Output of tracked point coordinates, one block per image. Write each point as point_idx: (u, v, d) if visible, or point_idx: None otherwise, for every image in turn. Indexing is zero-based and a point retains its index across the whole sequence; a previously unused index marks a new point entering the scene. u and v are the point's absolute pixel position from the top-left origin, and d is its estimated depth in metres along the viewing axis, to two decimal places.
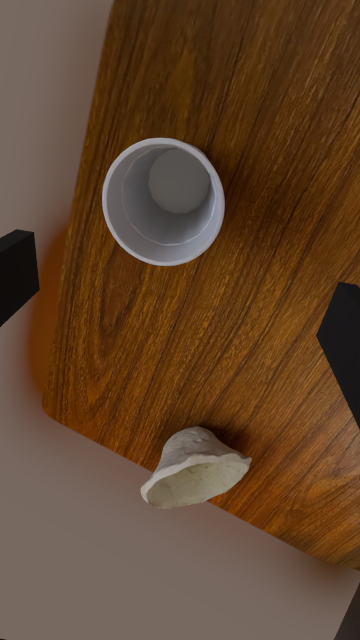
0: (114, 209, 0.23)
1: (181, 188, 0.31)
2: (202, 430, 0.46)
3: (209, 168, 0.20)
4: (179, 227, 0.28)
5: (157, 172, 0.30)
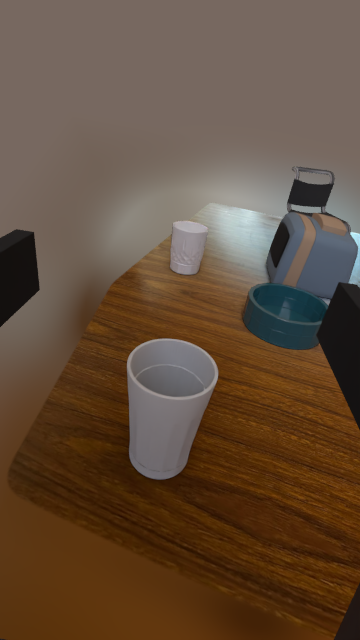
0: None
1: None
2: None
3: (147, 343, 0.31)
4: None
5: None
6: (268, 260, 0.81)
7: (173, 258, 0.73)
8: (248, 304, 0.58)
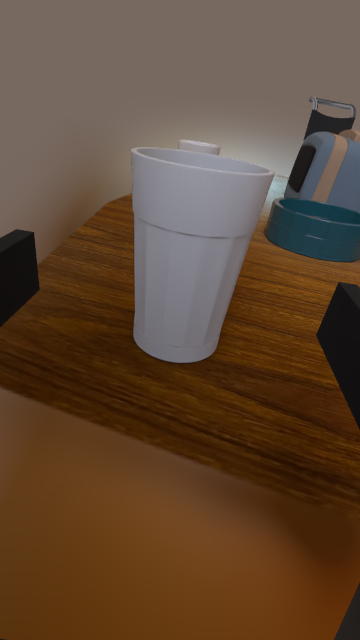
0: None
1: None
2: None
3: (161, 148, 0.21)
4: None
5: None
6: (286, 193, 0.71)
7: None
8: (274, 212, 0.48)
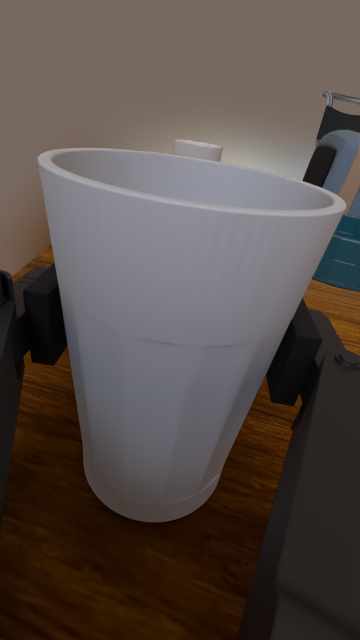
0: None
1: None
2: None
3: (119, 149, 0.11)
4: None
5: None
6: None
7: None
8: None
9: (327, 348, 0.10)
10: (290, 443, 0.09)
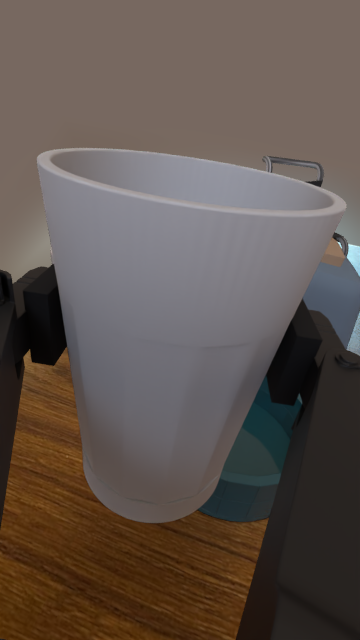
0: None
1: None
2: None
3: (119, 150, 0.11)
4: None
5: None
6: None
7: None
8: None
9: (327, 348, 0.10)
10: (290, 443, 0.09)
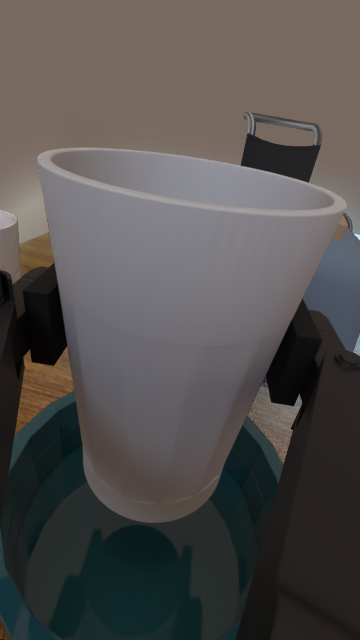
0: None
1: None
2: None
3: (119, 149, 0.11)
4: None
5: None
6: None
7: None
8: None
9: (327, 348, 0.10)
10: (290, 443, 0.09)
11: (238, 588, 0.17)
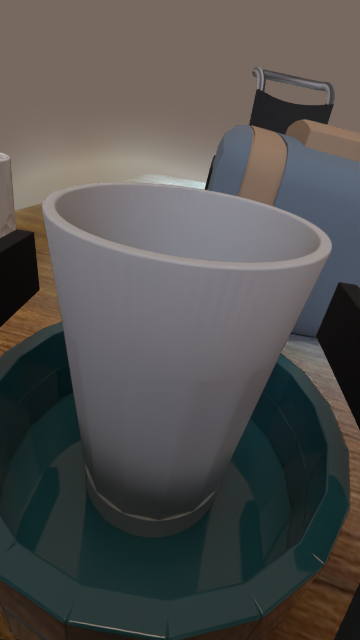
0: None
1: None
2: None
3: (119, 183, 0.12)
4: None
5: None
6: None
7: None
8: None
9: None
10: None
11: (270, 535, 0.14)
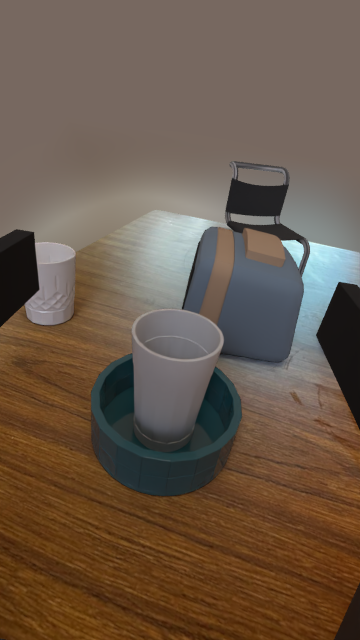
0: None
1: None
2: None
3: (151, 312, 0.31)
4: None
5: None
6: None
7: None
8: None
9: None
10: None
11: None
